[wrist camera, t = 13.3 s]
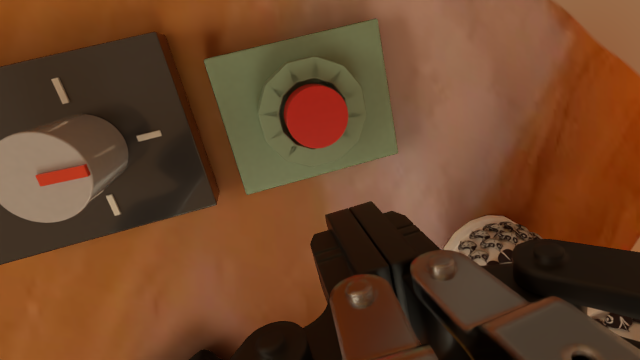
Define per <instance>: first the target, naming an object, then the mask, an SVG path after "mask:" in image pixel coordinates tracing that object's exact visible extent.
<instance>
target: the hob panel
mask: <svg viewBox="0 0 640 360" xmlns="http://www.w3.org/2000/svg"><path fill="white" fill-rule="evenodd" d="M77 114H87V115H93V116H96V117H99V118H102V119H104V120H106V121H107V122H109V123H111V124H112V125H113V126H114V127H115V128H116V129H117V130H118V131H119V132H120V133H121V134H122V136H123V138H124V139H125V142H126V144H127V148H128V163H127V166H126V168H125V170H124V171H123V173H122V174H121V175H120V176H119V177H118V178H117V179H116V180H115V181H114V182H113V183H112V184H111V185H110V186H108V187H107V188H106V189H105V190H104V191H103V192H102V193H101V194H100V195H99V196H97V197H96V198H95V199H94V200H93V201H92V202H91V203H90V204H89V205H88V206H86V207H85V208H84V209H83V210H82V211H81V212H80V213H78V214H77V215H75V216H73V217H72V218H69V219H67V220H63V221H59V222H51V223H42V222H34V221H30V220H26V219H24V218H21V217H19V216H17V215H15V214H13V213H11V212H10V211H8V210H7V209H5V208H4V207H3V206H2V205H1V204H0V265H1V264H5V263H8V262H12V261H16V260H19V259H23V258H26V257H30V256H34V255H37V254H41V253H45V252H48V251H52V250H55V249H59V248H63V247H66V246H70V245H73V244H77V243H81V242H84V241H88V240H92V239H95V238H99V237H102V236H106V235H110V234H113V233H117V232H120V231H124V230H128V229H131V228H135V227H139V226H142V225H146V224H149V223H153V222H157V221H160V220H164V219H167V218H171V217H175V216H178V215H182V214H186V213H189V212H193V211H196V210H200V209H204V208H207V207H211V206H214V205H217V201H218V197H219V189H218V186H217V183H216V180H215V177H214V175H213V172H212V169H211V166H210V163H209V160H208V157H207V154H206V151H205V149H204V146H203V143H202V140H201V137H200V134H199V131H198V128H197V126H196V123H195V120H194V117H193V114H192V111H191V108H190V105H189V102H188V100H187V97H186V94H185V91H184V88H183V85H182V82H181V79H180V77H179V74H178V71H177V68H176V65H175V62H174V59H173V56H172V53H171V51H170V48H169V45H168V42H167V39H166V36H165V35H164V34H161V33H157V32H151V33H147V34H142V35H138V36H133V37H129V38H124V39H120V40H116V41H111V42H107V43H102V44H98V45H93V46H89V47H85V48H80V49H76V50H71V51H67V52H63V53H58V54H54V55H49V56H45V57H40V58H36V59H32V60H27V61H23V62H18V63H14V64H9V65H5V66H1V67H0V140H2V139H3V138H5V137H7V136H9V135H12V134H14V133H18V132H21V131H24V130H27V129H30V128H33V127H36V126H39V125H43V124H46V123H49V122H52V121H55V120H58V119H61V118H64V117H68V116H71V115H77Z"/></svg>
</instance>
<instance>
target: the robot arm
mask: <svg viewBox="0 0 640 360" xmlns="http://www.w3.org/2000/svg"><path fill="white" fill-rule="evenodd" d="M325 218H326V223H327V227H328V230H327V231H324V232H321V233H317V234H314V236H313V238H312V241H311V244H310V245H311V249H312V253H313V256H314V260H315V264H316V267H317V271H318V275H319V279H320V282H321V286H322V289H323V292H324V295H325V297H326V300H327V303H328V305H327V307H326V309H325V311H324V312H323V313H322V315H321V316H320V317H319V318H317V319H316V320H315V321H314V322H312V323H311V324H309V325H308V326H306V327H304V328H302V327H300V326H299V325H298V324H296V323H293V322H288V321H279V322H274V323H270V324H267V325H265V326H263V327H261V328H259V329H257V330H256V331H254V332H253V333H252V334H251V335H250V336H248V338H247V339H246V340H245V341H244V342H243V343H242V345H241V346H240V347H239V348H238V350H237V351H236V352H235V353H234V355H233V356H232V357H231V358H230V360H640V341H636V340H632V339H629V338H625V337H621V336H618V335H617V334H615V333H614V332H612V331H611V330H609V329H608V328H606V327H605V326H603V325H602V324H600V323H599V322H597V321H596V320H594V319H593V318H591V317H590V316H588V315H587V308H588V307H589V308H593V309H598V310H602V311H606V312H610V313H614V314H618V315H622V316H627V317H631V318H635V319H639V320H640V252H633V251H627V250H620V249H613V248H606V247H600V246H593V245H586V244H580V243H573V242H566V241H560V240H552V239H535V240H529V241H526V242H523V243H521V244H519V245H517V246H516V247H515V248H514V249H513V251H512V263H506V264H496V265H484V266H480V265H478V264H477V263H476V262H474V261H473V260H472V259H470V258H469V257H467V256H466V255H464V254H462V253H459V252H456V251H451V250H441V249H440V248H439V247H437V246H436V245H435V244H434V243H433V242H432V241H431V240H430V239H429V238H428V237H427V236H426V235H425V234H424V233H423V232H422V231H420V229H419V228H417V227H416V226H415V225H413V223H412V222H411V221H410V220H409V219H408V218H407V217H406V216H405V215H402V214H399V213H396V212H393V211H390V212H387V213H382V212H381V211H380V210H379V209H378V208H377V207H376V206H375V205H374V203H373V202H371V201H370V202H367V203H364V204H360V205H357V206H354V207H350V208H349V209H348V208H347V209H344V210H340V211H337V212H334V213H330V214H327V215H325ZM420 343H421V344H420Z"/></svg>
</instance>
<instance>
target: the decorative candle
mask: <svg viewBox="0 0 640 360" xmlns="http://www.w3.org/2000/svg"><path fill="white" fill-rule="evenodd" d="M535 239H542V238H541V237H540V236H539V235H538V234H536V233H533V232H529V231H528V229H527V228H526V227H524V226H522V225H520V224H517V223H515V222H513V221H511V220H510V219H508V218H506V217H505V216H494V215H486V216H483V217H480V218H477V219H474V220H471V221H469V222H468V223H466V224H465V225H464V226H462V227H461V228H460V229H458V230H457V231H456V232H454V234H453V235H452V237H451V238H450V240H449V241H448V243H447V244H446V245H445V247H444V249H443V250H451V251H456V252H459V253H462V254H464V255H466V256H467V257H469V258H470V259H472V260H473V261H474V262H476V263H477V264H478V265H480V266H484V265H496V264H506V263H512V251H513V249H514V248H515V247H516V246H517V245H519V244H521V243H523V242H526V241H529V240H535ZM587 315H588V316H590V317H591V318H593V319H594V320H596V321H597V322H599V323H600V324H602V325H603V326H605V327H606V328H608V329H609V330H611V331H612V332H614V333H615V334H617V335H618V336H621V337H625V338H629V339H632V340H636V341H640V320H639V319H635V318H631V317H627V316H622V315H618V314H614V313H610V312H606V311H602V310H598V309H593V308H589V307H588V308H587Z"/></svg>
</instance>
